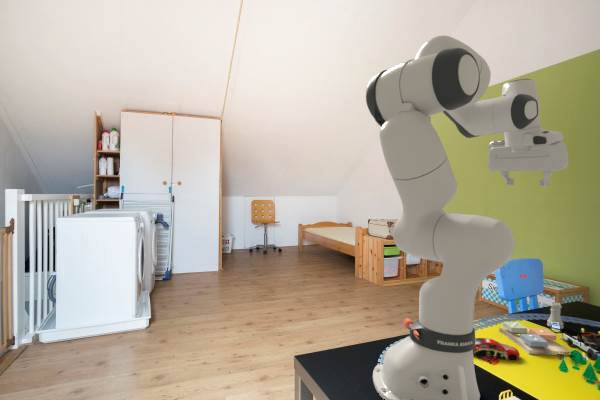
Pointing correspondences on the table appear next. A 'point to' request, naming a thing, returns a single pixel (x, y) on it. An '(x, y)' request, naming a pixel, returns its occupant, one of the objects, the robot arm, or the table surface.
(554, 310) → the rook chess piece
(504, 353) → the race car
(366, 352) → the table surface
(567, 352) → the birch board
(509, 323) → the sage tile
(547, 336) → the terracotta tile
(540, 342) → the slate tile
